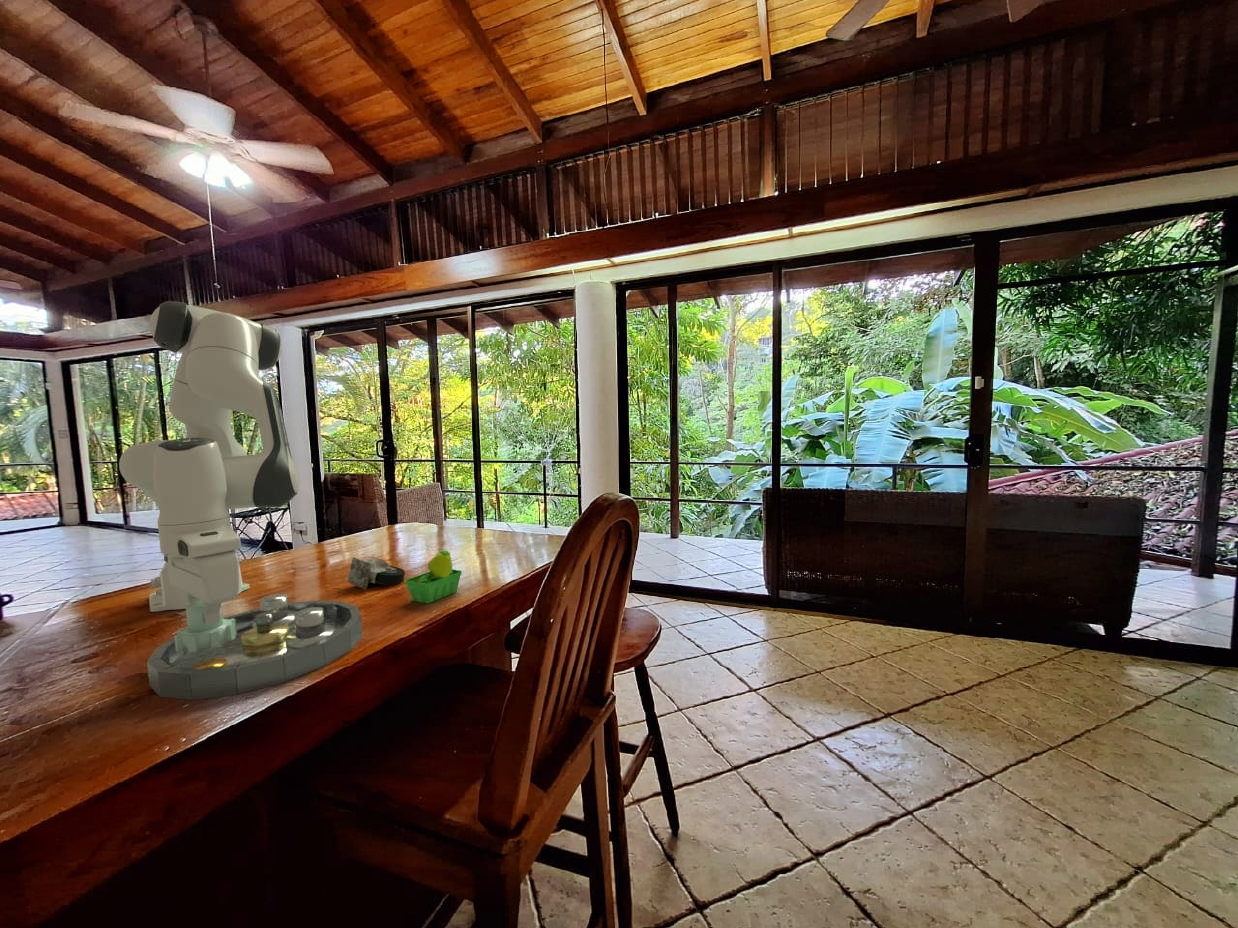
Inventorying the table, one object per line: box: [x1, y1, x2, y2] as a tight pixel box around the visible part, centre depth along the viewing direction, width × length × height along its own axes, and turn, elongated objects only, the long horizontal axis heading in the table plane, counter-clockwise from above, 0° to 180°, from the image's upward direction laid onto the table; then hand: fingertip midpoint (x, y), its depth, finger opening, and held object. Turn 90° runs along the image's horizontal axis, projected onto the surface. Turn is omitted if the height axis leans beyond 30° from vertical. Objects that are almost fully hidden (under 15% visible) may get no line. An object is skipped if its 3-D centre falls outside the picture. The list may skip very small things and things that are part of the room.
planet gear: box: [173, 601, 237, 653], centre depth 79 cm, size 8×8×6 cm
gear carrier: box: [146, 593, 363, 701], centre depth 86 cm, size 30×30×8 cm
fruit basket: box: [404, 550, 463, 604], centre depth 113 cm, size 11×9×11 cm
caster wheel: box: [347, 557, 406, 590], centre depth 125 cm, size 7×11×10 cm
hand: (205, 619), depth 79 cm, fingers closed on planet gear, 4 cm apart
